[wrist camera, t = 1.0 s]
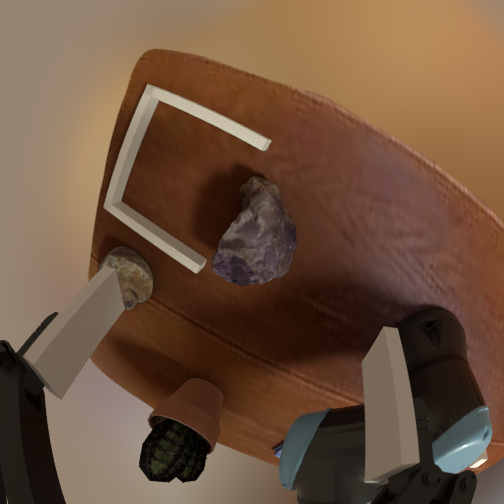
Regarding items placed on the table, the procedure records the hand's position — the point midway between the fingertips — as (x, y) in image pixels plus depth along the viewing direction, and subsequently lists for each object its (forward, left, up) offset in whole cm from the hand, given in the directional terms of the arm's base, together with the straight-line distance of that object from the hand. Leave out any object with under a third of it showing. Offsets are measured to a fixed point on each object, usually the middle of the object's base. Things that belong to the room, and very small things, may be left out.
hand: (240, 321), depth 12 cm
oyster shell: (+19, +27, -25) cm, 42 cm away
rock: (+2, +4, -25) cm, 25 cm away
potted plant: (-5, +42, -25) cm, 49 cm away
